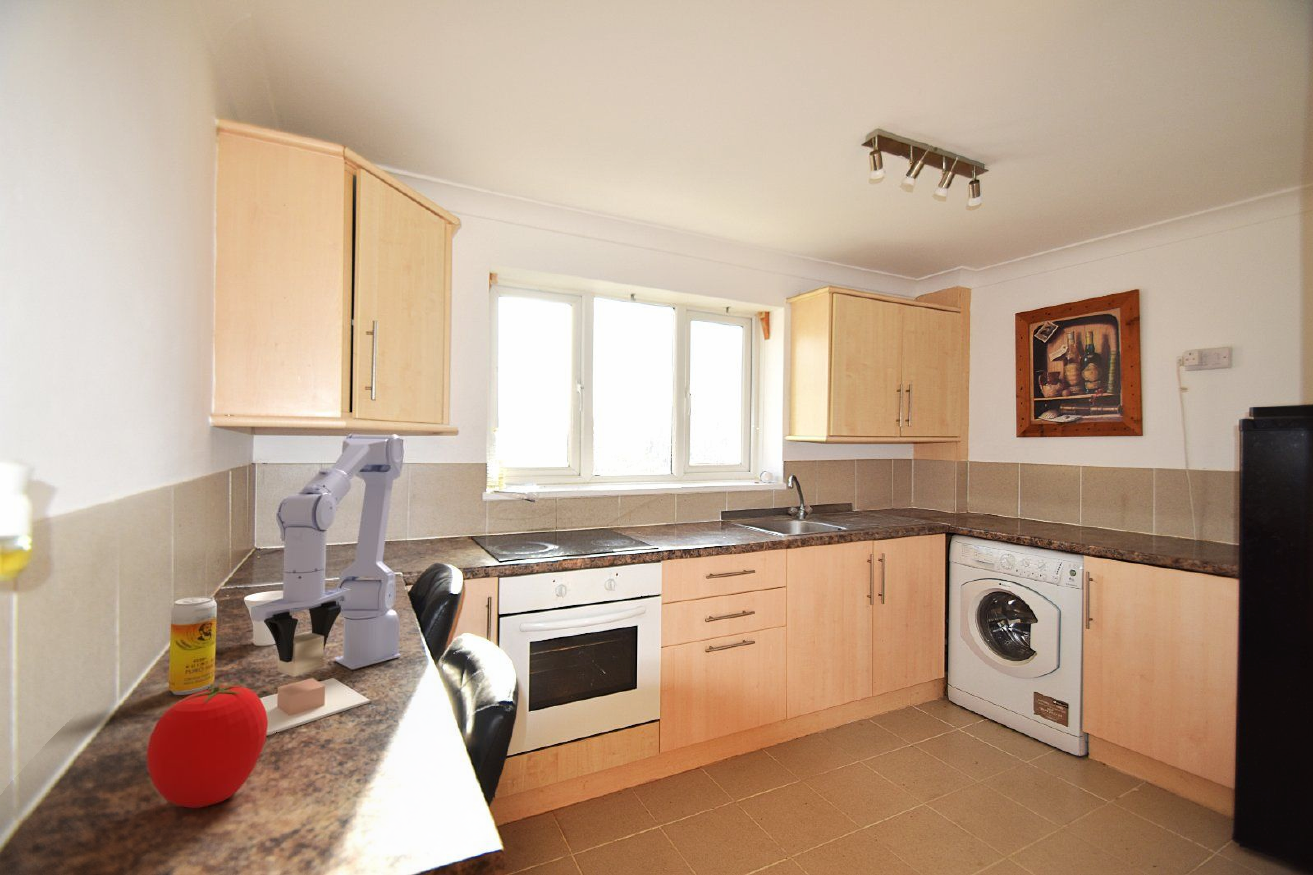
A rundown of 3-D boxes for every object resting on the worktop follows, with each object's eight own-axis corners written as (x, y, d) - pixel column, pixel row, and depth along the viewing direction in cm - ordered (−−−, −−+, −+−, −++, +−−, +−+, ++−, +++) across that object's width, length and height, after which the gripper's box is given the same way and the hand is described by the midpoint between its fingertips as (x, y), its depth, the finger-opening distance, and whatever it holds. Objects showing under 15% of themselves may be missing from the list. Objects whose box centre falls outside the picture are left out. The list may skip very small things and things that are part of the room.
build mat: (333, 680, 103) (333, 678, 103) (369, 702, 94) (369, 700, 94) (224, 710, 91) (224, 708, 91) (254, 739, 82) (254, 736, 82)
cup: (302, 639, 125) (304, 592, 125) (254, 651, 117) (255, 601, 117) (282, 632, 129) (283, 587, 130) (234, 643, 122) (235, 595, 122)
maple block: (306, 662, 95) (307, 631, 95) (323, 667, 93) (323, 636, 93) (277, 671, 91) (278, 639, 91) (294, 676, 89) (295, 643, 89)
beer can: (188, 697, 95) (191, 605, 95) (158, 694, 96) (161, 603, 97) (223, 683, 101) (226, 596, 101) (194, 680, 102) (197, 594, 103)
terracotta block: (311, 696, 95) (312, 678, 95) (324, 705, 92) (325, 686, 92) (277, 706, 91) (277, 687, 91) (289, 716, 88) (289, 696, 88)
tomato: (168, 842, 60) (172, 718, 61) (130, 807, 66) (134, 694, 66) (285, 790, 70) (288, 682, 70) (242, 763, 76) (245, 664, 76)
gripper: (333, 559, 101) (330, 639, 100) (240, 574, 88) (237, 665, 87) (359, 564, 97) (357, 645, 97) (267, 580, 84) (264, 674, 84)
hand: (302, 655), depth 92 cm, fingers closed on maple block, 4 cm apart
